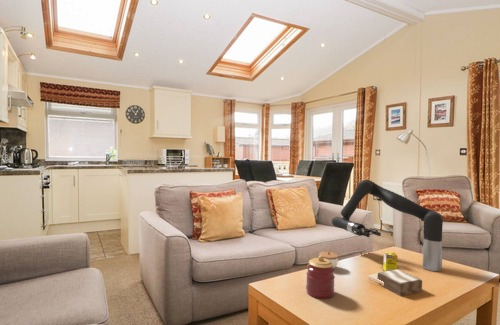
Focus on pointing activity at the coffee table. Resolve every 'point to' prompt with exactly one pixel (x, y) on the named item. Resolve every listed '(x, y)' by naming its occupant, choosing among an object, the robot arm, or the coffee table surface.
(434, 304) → the coffee table surface
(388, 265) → the supplement box
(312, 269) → the canister
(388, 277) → the silver-topped wooden block
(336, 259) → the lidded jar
